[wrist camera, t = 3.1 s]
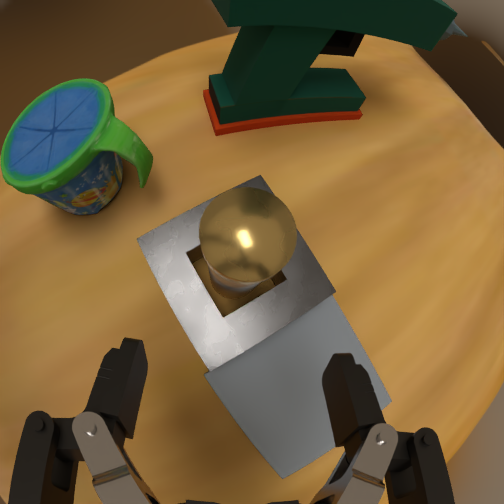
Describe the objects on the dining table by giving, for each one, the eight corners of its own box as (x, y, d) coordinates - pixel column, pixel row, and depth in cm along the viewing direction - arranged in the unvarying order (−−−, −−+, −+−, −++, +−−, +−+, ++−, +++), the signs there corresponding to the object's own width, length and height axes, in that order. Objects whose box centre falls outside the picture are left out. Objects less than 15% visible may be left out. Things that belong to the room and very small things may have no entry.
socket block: (148, 252, 24) (136, 239, 20) (254, 195, 26) (260, 174, 22) (211, 363, 22) (209, 371, 18) (318, 296, 24) (335, 291, 20)
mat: (204, 373, 22) (203, 375, 21) (329, 295, 24) (332, 294, 24) (281, 476, 20) (282, 479, 19) (388, 399, 23) (391, 401, 22)
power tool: (401, 87, 35) (459, 5, 15) (423, 120, 33) (495, 39, 14) (202, 93, 29) (205, -61, 9) (215, 135, 27) (226, -49, 8)
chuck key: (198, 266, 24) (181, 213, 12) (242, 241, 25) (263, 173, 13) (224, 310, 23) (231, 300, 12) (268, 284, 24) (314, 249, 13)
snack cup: (178, 158, 26) (165, 84, 16) (134, 255, 23) (87, 213, 14) (68, 133, 26) (34, 77, 16) (25, 210, 23) (-29, 169, 13)
